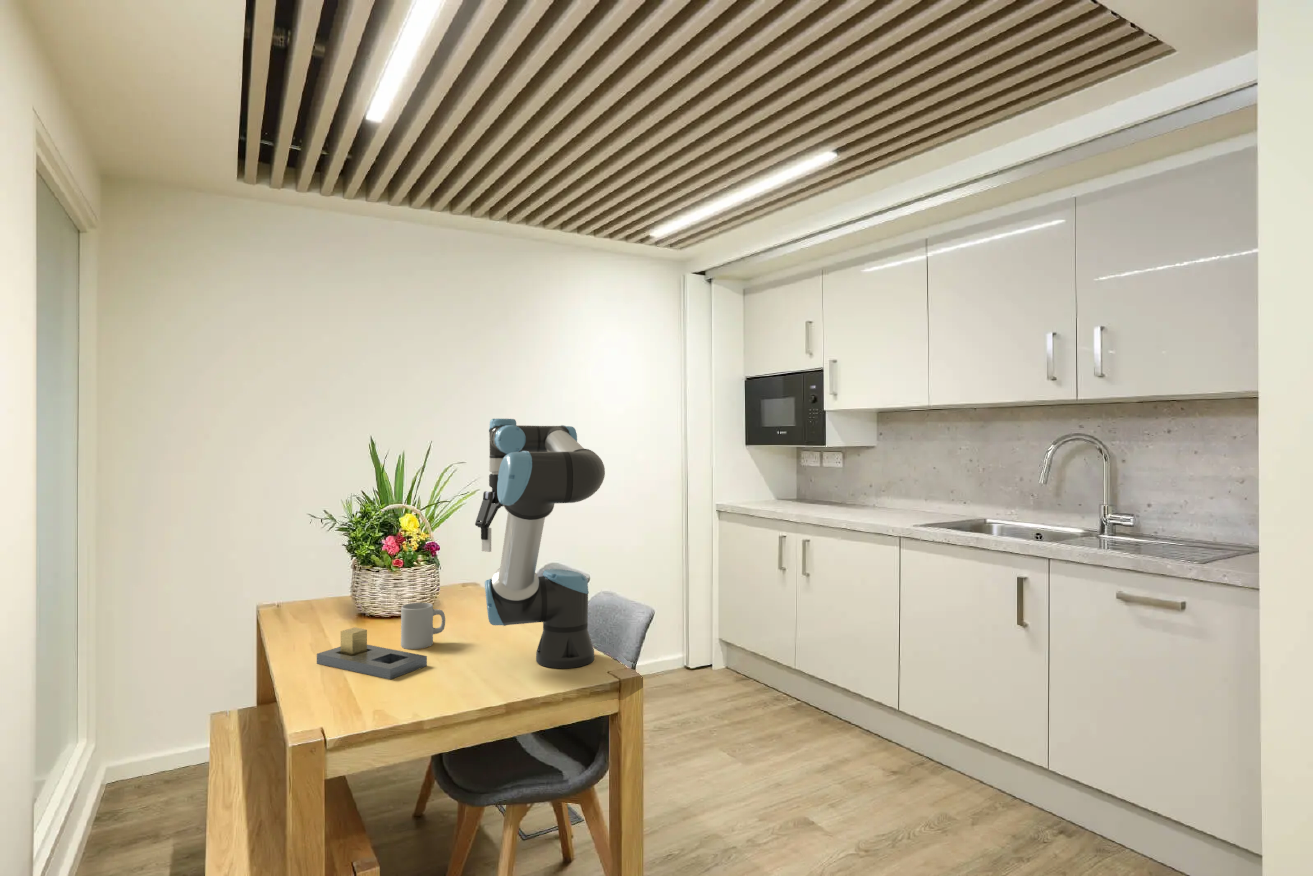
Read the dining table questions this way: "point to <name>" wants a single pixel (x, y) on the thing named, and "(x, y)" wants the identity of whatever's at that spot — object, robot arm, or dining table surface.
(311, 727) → the dining table surface
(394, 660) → the square hole plate
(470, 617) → the dining table surface
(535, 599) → the robot arm
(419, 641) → the mug
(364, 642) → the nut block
